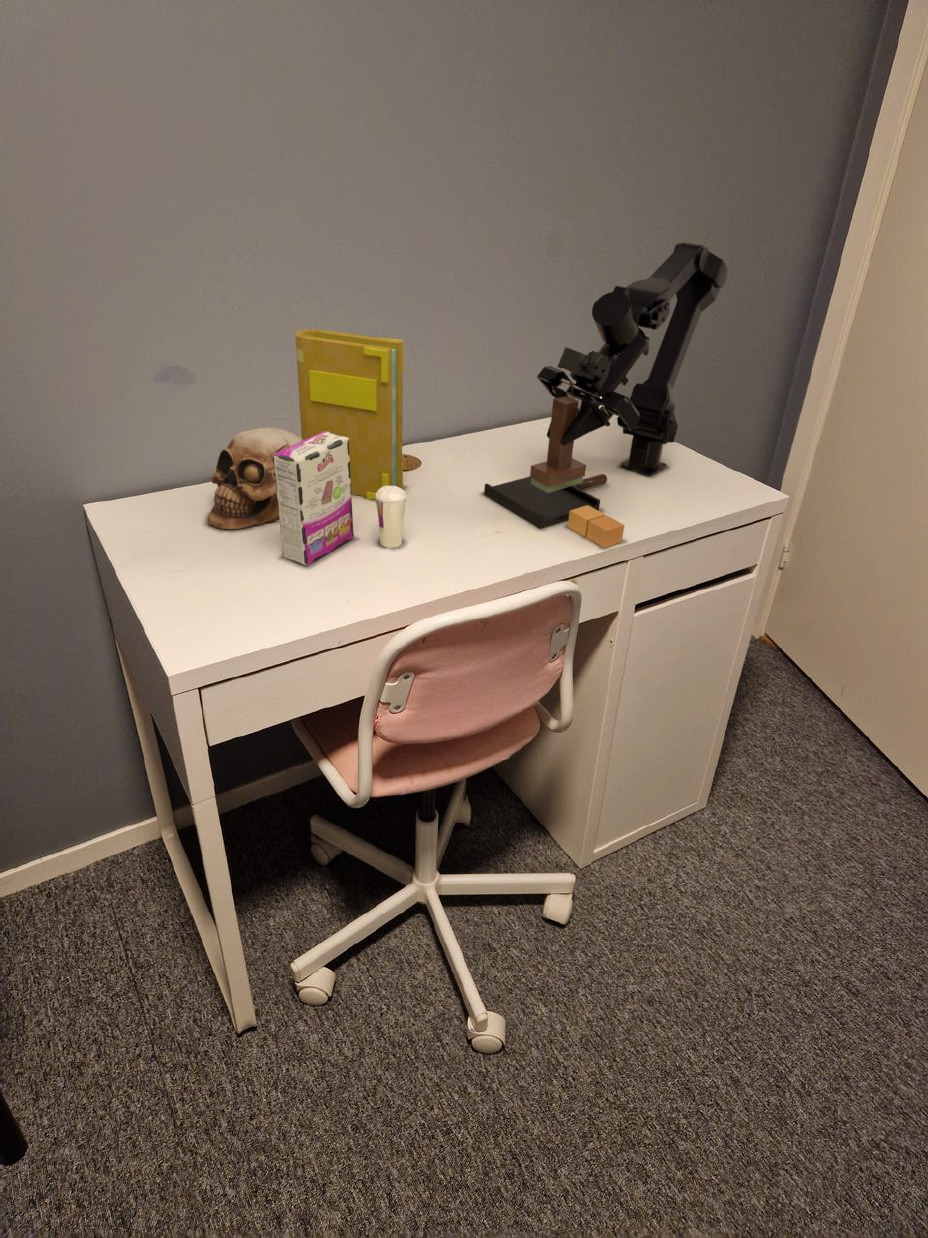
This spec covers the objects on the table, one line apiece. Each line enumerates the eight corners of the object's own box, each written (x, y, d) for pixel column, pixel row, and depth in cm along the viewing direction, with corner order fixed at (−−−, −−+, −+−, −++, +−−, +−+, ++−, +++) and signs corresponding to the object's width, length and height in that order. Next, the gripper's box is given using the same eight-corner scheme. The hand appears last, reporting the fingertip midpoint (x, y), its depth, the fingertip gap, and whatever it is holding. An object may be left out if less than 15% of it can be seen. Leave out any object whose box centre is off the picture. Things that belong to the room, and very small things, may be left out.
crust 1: (585, 521, 140) (587, 504, 138) (602, 531, 137) (605, 514, 135) (567, 527, 138) (569, 510, 136) (584, 537, 135) (586, 520, 133)
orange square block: (604, 531, 137) (606, 514, 135) (621, 541, 134) (624, 524, 132) (585, 537, 135) (588, 520, 133) (603, 548, 132) (606, 530, 130)
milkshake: (406, 552, 128) (407, 491, 122) (372, 548, 129) (371, 486, 123) (414, 539, 132) (415, 479, 126) (380, 534, 132) (380, 474, 127)
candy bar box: (329, 530, 133) (324, 429, 124) (354, 538, 131) (351, 437, 122) (280, 557, 125) (271, 452, 116) (306, 567, 123) (299, 461, 114)
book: (403, 486, 148) (404, 340, 134) (387, 502, 142) (387, 351, 129) (315, 470, 152) (307, 326, 138) (297, 484, 147) (287, 336, 133)
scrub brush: (565, 473, 143) (574, 391, 135) (584, 482, 140) (594, 399, 132) (529, 483, 138) (536, 399, 131) (547, 493, 135) (556, 408, 128)
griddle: (576, 469, 158) (578, 459, 156) (635, 499, 148) (637, 488, 147) (483, 494, 147) (484, 483, 145) (540, 528, 137) (541, 517, 135)
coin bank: (202, 528, 131) (197, 443, 125) (225, 492, 146) (221, 415, 140) (305, 534, 132) (305, 449, 126) (317, 498, 148) (317, 421, 142)
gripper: (551, 313, 134) (492, 394, 134) (638, 343, 122) (572, 431, 122) (582, 356, 142) (526, 432, 143) (666, 388, 130) (604, 471, 130)
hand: (555, 440), depth 134 cm, fingers closed on scrub brush, 3 cm apart
